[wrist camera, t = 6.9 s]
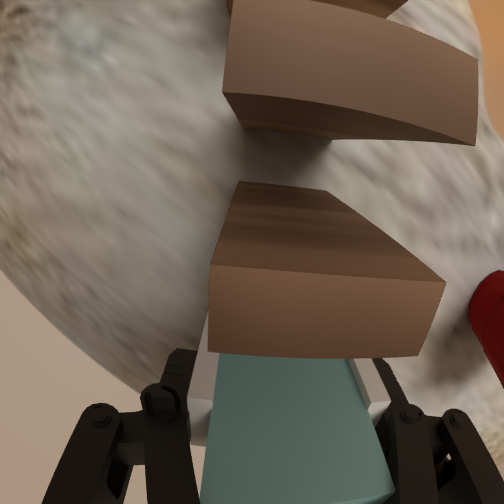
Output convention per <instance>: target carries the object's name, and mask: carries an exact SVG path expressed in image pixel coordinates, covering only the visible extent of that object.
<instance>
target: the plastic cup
mask: <svg viewBox="0 0 504 504" xmlns="http://www.w3.org/2000/svg"><path fill="white" fill-rule="evenodd" d="M468 318H469V322H470V324H471V326H472V330H473V331H474V333H475V335H476V336H477V338H478V340H479V341H480V343H481V345H482V346H483V348H484V352H485V354H486V356H487V358H488V359H489V361H490V363H491V365H492V367H493V369H494V371H495V373H496V374H497V376H498V378H499V380H500V382H501V384H502V386H503V388H504V271H500V270H498V271H496V272H494V273H491V274H490V275H489V276H488V277H487V278H485V279H484V280H483V281H482V282H481V284H480V285H479V287H478V288H477V290H476V291H475V293H474V295H473V298H472V300H471V302H470V305H469V312H468Z"/></svg>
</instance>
